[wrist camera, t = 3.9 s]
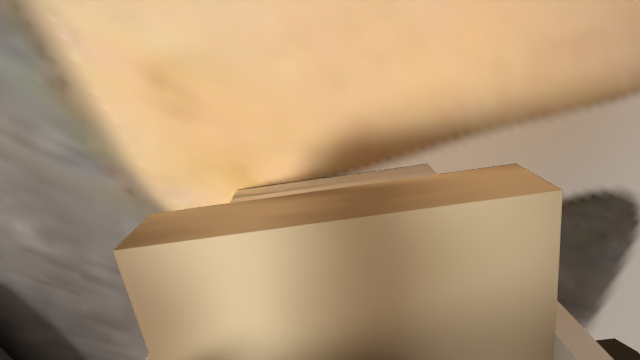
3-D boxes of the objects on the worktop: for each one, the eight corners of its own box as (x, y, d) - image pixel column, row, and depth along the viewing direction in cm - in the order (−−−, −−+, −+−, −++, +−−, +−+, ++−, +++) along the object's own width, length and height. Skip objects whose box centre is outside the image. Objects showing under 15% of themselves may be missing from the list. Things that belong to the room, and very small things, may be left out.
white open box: (271, 343, 19) (255, 441, 14) (237, 190, 16) (203, 246, 12) (437, 323, 18) (477, 417, 14) (426, 163, 16) (471, 210, 11)
